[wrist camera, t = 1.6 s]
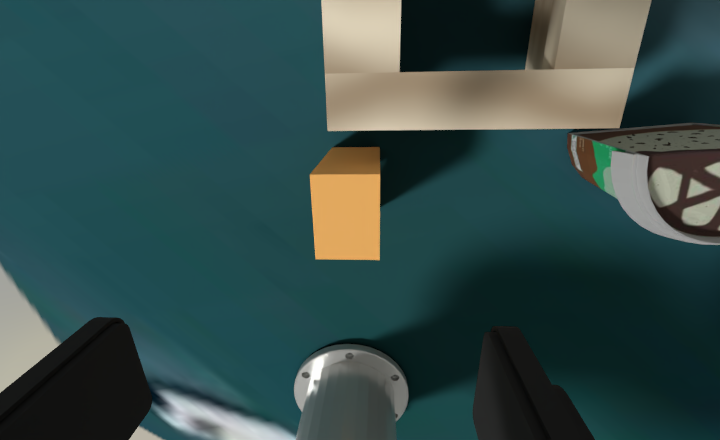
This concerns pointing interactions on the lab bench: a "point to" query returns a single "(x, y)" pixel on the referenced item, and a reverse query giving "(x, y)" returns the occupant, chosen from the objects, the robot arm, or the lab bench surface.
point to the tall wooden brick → (347, 204)
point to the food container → (658, 175)
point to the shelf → (483, 88)
